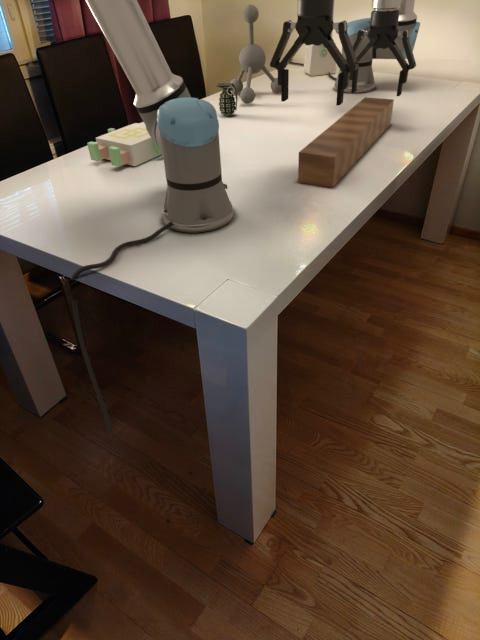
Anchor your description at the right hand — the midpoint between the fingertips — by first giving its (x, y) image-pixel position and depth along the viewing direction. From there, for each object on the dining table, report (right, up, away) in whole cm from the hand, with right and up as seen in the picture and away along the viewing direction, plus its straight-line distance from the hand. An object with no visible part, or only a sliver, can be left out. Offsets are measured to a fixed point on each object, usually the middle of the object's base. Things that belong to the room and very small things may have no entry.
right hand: (375, 93), depth 145 cm
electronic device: (-5, +41, +70) cm, 81 cm away
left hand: (-24, -16, -30) cm, 41 cm away
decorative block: (-70, -18, -2) cm, 73 cm away
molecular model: (-33, +19, +43) cm, 57 cm away
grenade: (-45, +4, +24) cm, 51 cm away
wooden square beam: (-10, -20, -8) cm, 24 cm away
